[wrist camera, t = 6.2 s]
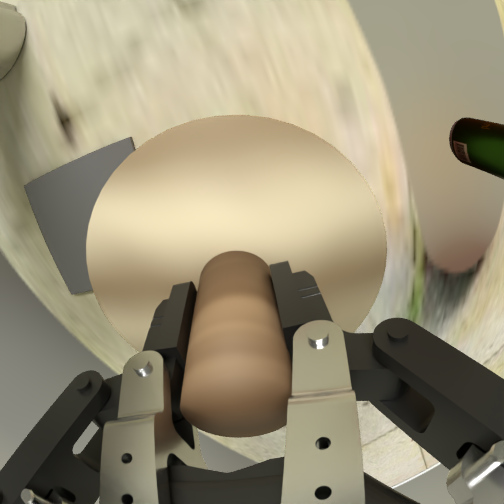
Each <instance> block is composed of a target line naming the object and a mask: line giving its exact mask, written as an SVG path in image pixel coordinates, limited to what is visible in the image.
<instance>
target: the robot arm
mask: <svg viewBox="0 0 504 504" xmlns="http://www.w3.org/2000/svg"><path fill="white" fill-rule="evenodd" d="M25 31H26V26H25V20H24V17H23V16H22V15H21V14H20V13H18V12H16V9H15V6H14V5H11V4H7V3H3V2H0V80H1V79H2V78H3V77H4V76H5V75H6V74H7V73H8V71H9V70H10V69H11V68H12V66H13V64H14V63H15V61H16V59H17V57H18V55H19V53H20V51H21V48H22V45H23V42H24V38H25ZM269 267H270V271H271V276H272V281H273V285H274V290H275V295H276V299H277V304H278V309H279V314H280V318H281V323H282V328H283V333H284V337H285V342H286V347H287V349H288V351H289V353H290V356H291V360H292V365H293V373H292V395H291V396H289V399H288V409H287V428H286V445H285V457H281V458H274V459H269V460H267V461H264V462H261V463H258V464H255V465H253V466H250V467H247V468H244V469H241V470H237V471H234V472H230V473H223V472H217V471H212V470H208V468H207V465H206V463H205V462H204V460H203V457H202V454H201V450H200V444H199V437H198V429H197V428H196V427H195V426H193V425H192V424H190V423H189V422H188V421H187V420H186V419H185V418H184V416H183V415H182V413H181V410H180V402H181V394H182V386H183V379H184V372H185V365H186V358H187V352H188V345H189V339H190V332H191V326H192V320H193V314H194V308H195V302H196V296H197V290H196V287H195V285H194V283H193V282H192V281H190V282H185V283H180V284H176V285H173V287H172V290H171V293H170V296H169V299H165V300H163V301H162V302H161V303H160V304H159V306H158V307H157V308H156V310H155V313H154V316H153V320H152V322H151V325H150V328H149V331H148V334H147V337H146V340H145V344H144V347H143V350H142V352H140V353H138V354H136V355H134V356H133V357H131V358H130V359H129V360H128V361H127V363H126V364H125V366H124V369H123V374H120V375H117V376H114V377H112V378H109V379H106V380H104V379H103V377H102V376H101V375H100V374H99V373H98V372H96V371H86V372H83V373H81V374H79V375H78V376H77V377H76V378H75V379H74V380H73V381H72V382H71V383H70V384H69V386H68V387H67V388H66V389H65V390H64V392H63V393H62V394H61V395H60V396H59V397H58V399H57V400H56V401H55V402H54V403H53V405H52V406H51V407H50V408H49V410H48V411H47V412H46V413H45V414H44V416H43V417H42V418H41V419H40V420H39V422H38V423H37V424H36V426H35V427H34V428H33V429H32V430H31V432H30V433H29V434H28V435H27V437H26V438H25V439H24V441H23V442H22V443H21V444H20V446H19V447H18V449H17V450H16V451H15V452H14V454H13V455H12V456H11V458H10V459H9V460H8V462H7V463H6V464H5V466H4V467H3V468H2V470H1V471H0V504H94V503H95V502H96V501H97V499H98V498H99V496H100V498H99V500H100V501H99V503H100V504H420V503H418V502H416V501H414V500H412V499H410V498H408V497H406V496H405V495H403V494H401V493H399V492H397V491H395V490H394V489H392V488H390V487H389V486H387V485H385V484H383V483H382V482H380V481H378V480H377V479H375V478H373V477H372V476H370V475H368V474H367V473H365V472H363V460H362V448H361V438H360V428H359V419H358V411H357V403H356V401H370V402H371V404H372V405H374V406H375V407H376V408H377V409H378V410H379V411H380V412H382V413H383V414H384V415H385V416H386V417H387V418H388V419H390V420H391V421H392V422H393V423H394V424H395V425H397V426H398V427H399V428H400V429H401V430H402V431H404V432H405V433H406V434H407V435H408V436H409V437H411V438H412V439H413V440H414V441H415V442H416V443H418V444H419V445H420V446H421V447H422V448H424V449H425V450H426V451H427V452H428V453H430V454H431V455H432V456H433V457H434V458H436V459H437V460H438V461H439V462H440V463H442V464H443V465H444V466H445V467H447V468H448V469H449V470H450V472H449V474H448V476H447V482H446V484H447V490H448V492H449V494H450V495H451V496H452V498H453V499H454V500H455V503H456V504H504V379H503V378H501V377H500V376H498V375H496V374H495V373H493V372H492V371H490V370H489V369H487V368H486V367H484V366H483V365H481V364H479V363H478V362H476V361H475V360H473V359H472V358H470V357H468V356H467V355H465V354H464V353H462V352H461V351H459V350H457V349H456V348H454V347H453V346H451V345H449V344H448V343H446V342H445V341H443V340H441V339H440V338H438V337H437V336H435V335H433V334H432V333H430V332H429V331H427V330H425V329H424V328H422V327H420V326H419V325H417V324H416V323H414V322H412V321H410V320H408V319H404V318H391V319H387V320H385V321H383V322H381V323H380V324H378V325H377V327H376V328H375V330H374V332H373V333H350V332H346V331H344V330H342V329H341V328H340V327H339V326H338V325H337V324H335V323H334V322H333V320H332V318H331V315H330V313H329V311H328V308H327V306H326V304H325V301H324V299H323V297H322V295H321V292H320V290H319V288H318V286H317V283H316V281H315V279H314V276H312V275H311V274H309V273H308V272H306V271H305V270H304V271H300V272H295V273H292V271H291V268H290V265H289V262H288V261H284V262H279V263H275V264H270V265H269ZM91 421H93V422H94V423H95V424H96V425H97V426H98V427H99V429H98V430H97V432H96V433H95V435H94V436H93V437H92V439H91V440H90V441H89V443H88V444H87V445H86V447H85V448H84V450H83V451H82V452H81V453H80V454H76V455H75V454H73V451H72V449H73V446H74V444H75V443H76V441H77V440H78V439H79V437H80V436H81V435H82V433H83V432H84V431H85V429H86V428H87V427H88V425H89V424H90V423H91Z"/></svg>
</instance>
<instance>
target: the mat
mask: <svg viewBox="0 0 504 504" xmlns="http://www.w3.org/2000/svg"><path fill="white" fill-rule="evenodd" d="M134 151H135V147H134V144H133V140H132V137H129V138H126V139H124V140H121V141H118V142H116V143H113V144H111V145H108V146H106V147H103V148H101V149H99V150H96V151H94V152H92V153H89V154H87V155H85V156H82V157H80V158H78V159H76V160H74V161H72V162H69V163H67V164H65V165H63V166H61V167H59V168H57V169H55V170H53V171H51V172H49V173H47V174H45V175H43V176H41V177H39V178H38V179H36V180H34V181H32V182H30V183H28V184H27V185H25V186H24V188H25V191H26V194H27V196H28V199H29V202H30V205H31V207H32V210H33V213H34V215H35V218H36V220H37V223H38V225H39V228H40V230H41V232H42V235H43V237H44V239H45V242H46V244H47V246H48V248H49V251H50V253H51V255H52V257H53V259H54V261H55V263H56V265H57V267H58V269H59V271H60V273H61V275H62V277H63V279H64V281H65V283H66V285H67V287H68V289H69V291H70V292H71V294H77V293H82V292H86V291H91V290H93V288H92V285H91V282H90V279H89V273H88V267H87V261H86V240H87V232H88V225H89V222H90V218H91V215H92V211H93V208H94V205H95V203H96V201H97V199H98V197H99V195H100V192H101V190H102V188H103V187H104V185H105V184H106V182H107V181H108V179H109V178H110V176H111V175H112V174H113V172H114V171H115V170H116V169H117V168H118V166H119V165H120V164H121V163H122V162H123V161H124V160H125V159H126V158H127V157H128V156H129V155H130V154H131V153H133V152H134Z"/></svg>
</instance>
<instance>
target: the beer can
mask: <svg viewBox="0 0 504 504" xmlns="http://www.w3.org/2000/svg"><path fill="white" fill-rule="evenodd" d="M449 141H450V147H451V150H452V152H453V153H454V155H455V156H456V158H457V159H458V160H459V161H461V162H462V163H464V164H467V165H469V166H472V167H475V168H477V169H480V170H482V171H485V172H487V173H490V174H492V175H495V176H497V177H499V178H501V179H504V125H503V124H499V123H494V122H489V121H484V120H479V119H473V118H461V119H460V120H458V121H456V122H455V123H454V125H453V126H452V128H451V131H450V137H449Z"/></svg>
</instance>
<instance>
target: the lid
mask: <svg viewBox="0 0 504 504" xmlns="http://www.w3.org/2000/svg"><path fill="white" fill-rule="evenodd" d="M386 256H387V242H386V231H385V226H384V221H383V217H382V213H381V210H380V208H379V205H378V203H377V200H376V198H375V195H374V194H373V192H372V190H371V188H370V187H369V185H368V183H367V182H366V180H365V178H364V177H363V176H362V175H361V173H360V172H359V171H358V170H357V168H356V167H355V166H354V165H353V164H352V162H351V161H350V160H348V159H347V158H346V157H345V156H344V155H343V154H342V153H341V152H340V151H338V150H337V149H336V148H335V147H334V146H332V145H331V144H329V143H328V142H326V141H325V140H323V139H321V138H320V137H318V136H317V135H315V134H313V133H311V132H309V131H306V130H304V129H302V128H300V127H297V126H295V125H293V124H289V123H286V122H282V121H279V120H275V119H271V118H266V117H258V116H249V115H226V116H214V117H209V118H204V119H199V120H194V121H190V122H187V123H185V124H182V125H179V126H176V127H174V128H171V129H168V130H166V131H165V132H163V133H161V134H159V135H157V136H155V137H154V138H152V139H150V140H148V141H147V142H145V143H144V144H143V145H142V146H140V147H139V148H138V149H136V150H135V151H134V152H133V153H131V154H130V155H129V156H128V157H127V158H126V159H125V160H124V161H123V162H122V163H121V164H120V165H119V166H118V168H117V169H116V170H115V171H114V172H113V174H112V175H111V176H110V178H109V179H108V181H107V182H106V184H105V185H104V187H103V188H102V190H101V192H100V195H99V197H98V199H97V201H96V203H95V205H94V208H93V211H92V215H91V218H90V222H89V225H88V232H87V240H86V261H87V267H88V273H89V279H90V282H91V285H92V288H93V291H94V294H95V297H96V299H97V301H98V303H99V305H100V307H101V309H102V311H103V312H104V314H105V316H106V317H107V319H108V320H109V322H110V323H111V325H112V326H113V327H114V328H115V329H116V331H117V332H118V333H119V334H120V335H121V336H122V337H123V338H124V339H125V340H126V341H127V342H128V343H129V344H130V345H131V346H132V347H133V348H135V349H136V350H137V351H139V352H142V350H143V347H144V344H145V340H146V337H147V334H148V331H149V328H150V325H151V322H152V320H153V316H154V313H155V310H156V308H157V307H158V306H159V304H160V303H161V302H162V301H163V300H165V299H169V296H170V293H171V290H172V287H173V285H176V284H180V283H185V282H190V281H192V282H193V283H194V285H195V287H196V290H197V296H196V302H195V308H194V314H193V320H192V326H191V332H190V339H189V345H188V352H187V358H186V365H185V372H184V379H183V386H182V394H181V402H180V410H181V413H182V415H183V416H184V418H185V419H186V420H187V421H188V422H189V423H190V424H192V425H193V426H195V427H196V428H198V429H200V430H202V431H205V432H208V433H211V434H214V435H219V436H225V437H253V436H259V435H263V434H267V433H270V432H273V431H276V430H278V429H280V428H282V427H284V426H285V425H287V409H288V399H289V396H291V395H292V373H293V365H292V360H291V356H290V353H289V351H288V349H287V347H286V342H285V337H284V333H283V328H282V323H281V318H280V314H279V309H278V304H277V299H276V295H275V290H274V285H273V281H272V276H271V271H270V267H269V265H270V264H275V263H279V262H284V261H288V262H289V265H290V268H291V271H292V273H295V272H300V271H304V270H305V271H306V272H308V273H309V274H311V275H312V276H314V279H315V281H316V283H317V286H318V288H319V290H320V292H321V295H322V297H323V299H324V301H325V304H326V306H327V308H328V311H329V313H330V315H331V318H332V320H333V322H334V323H335V324H337V325H338V326H339V327H340V328H341V329H342V330H344V331H346V332H350V333H354V332H355V331H356V330H357V328H358V327H359V326H360V325H361V323H362V322H363V320H364V319H365V317H366V316H367V315H368V313H369V311H370V309H371V308H372V306H373V304H374V302H375V300H376V298H377V295H378V292H379V290H380V287H381V284H382V281H383V276H384V272H385V267H386Z"/></svg>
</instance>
